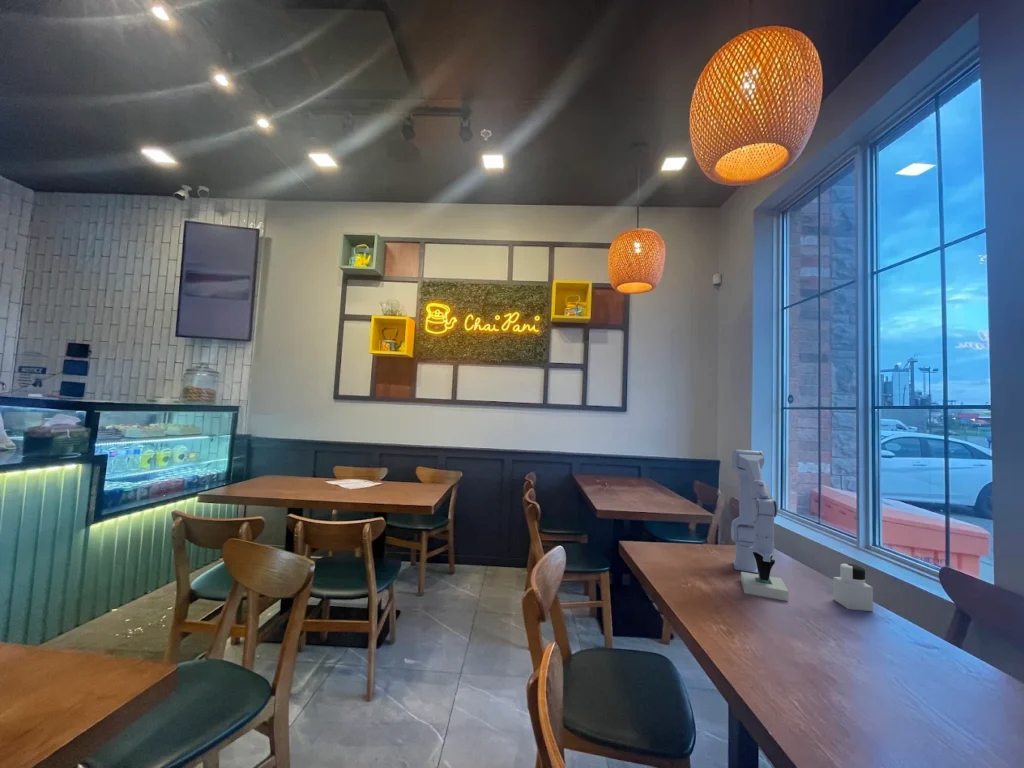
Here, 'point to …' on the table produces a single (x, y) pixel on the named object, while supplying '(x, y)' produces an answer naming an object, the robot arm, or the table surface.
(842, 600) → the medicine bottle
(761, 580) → the peg
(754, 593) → the socket slab
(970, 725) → the table surface
